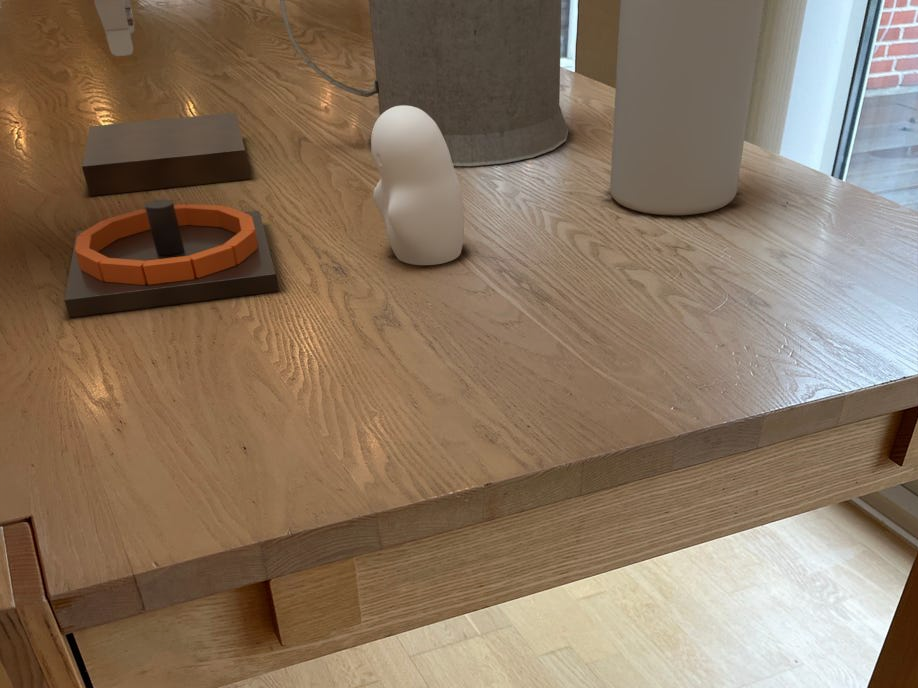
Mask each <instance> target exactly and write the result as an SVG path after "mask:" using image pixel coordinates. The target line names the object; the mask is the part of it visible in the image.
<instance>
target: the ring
mask: <svg viewBox="0 0 918 688" xmlns="http://www.w3.org/2000/svg"><path fill="white" fill-rule="evenodd" d="M174 207H175V212H176V216H177V220H178V225H179V226H186V225H193V226H208V227H222V228H224V229H227V230H229V231H232V232H234V233H236V235H235V236H234V237H232V238H231V239H230V240H228V241H227V242H226V243H225V244H223V245H220V246H217V247H214V248H211V249H208V250H205V251H201V252H198V253H195V254H192V255H189V256H181V257H173V258H164V259H156V260H148V261H142V260H129V259H117V258H108V257H106V256H104V255H102V254H100V253H98V251H100V250H102V249H103V248H105V247H106V246H108V245H109V244H111V243H112V242H114V241H115V240H117V239H120V238H124V237H127V236H130V235H134V234H137V233H140V232H144V231H147V230H151V229H150V225H149V221H148V217H147V213H146V209H145V208H144V209H143V208H141V209H136V210H132V211H129V212H125V213H122V214H118V215H115V216H112V217H108V218H105V219H103V220H100V221H99V222H97V223H95V224H93V225H92V226H91V227H88V228H87V229H84V230H85V231H84V232H82V233H80V234H79V236H77V241H76V246H75V253H76V257H77V260H78V263H79V266H80V269H81V270H82V271H84V272H86V273H88V274H90V275H91V276H93V277H95V278H97V279H99V280H101V281H105V282H114V283H125V284H137V285H146V284H147V283H148V285H152V284H161V283H169V282H177V281H185V280H193V279H195V277H196V278H201V277H204V276H207V275H210V274H213V273H216V272H219V271H222V270H225V269H228V268H231V267H234V266H236V264H237V265H238V264H240V263H241V262H242V261H243V260H245V259H246V258H247V257H248V256H250V255H251V254H252V253H253V252H254V251H256V250H257V248H258V243H257V237H256V232H255V227H254V223H253V218H252V216H251V215H249V214H246V213H244V212H245V211H241V210H238V209H235V208H234V207H230V206H226V205H215V204H199V203H188V204H187V203H181V204H174Z"/></svg>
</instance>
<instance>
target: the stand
mask: <svg viewBox="0 0 918 688" xmlns="http://www.w3.org/2000/svg"><path fill="white" fill-rule="evenodd" d="M81 169H82V172H83V176H84V178H85V180H84V181H85V183H86V186H87V190H88V194H89V196H90V197H96V196H104V195H115V194H124V193H133V192H141V191H142V192H143V191H151V190H162V189H171V188H181V187H188V186H189V187H191V186H198V185H208V184H217V183H227V182H236V181H238V182H239V181H245V180H251V175H250V169H249V164H248V158H247V152H246V147H245V144H244V140H243V137H242V132H241V128H240V124H239V121H238V116H237V113H236V112H228V113H216V114H206V115H194V116H183V117H174V118H163V119H153V120H142V121H141V120H140V121H131V122H121V123H110V124H109V123H108V124H100V125H98V124H97V125H90V126H89V129H88V133H87V139H86V144H85V147H84V153H83V159H82V163H81Z"/></svg>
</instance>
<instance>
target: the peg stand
mask: <svg viewBox="0 0 918 688" xmlns="http://www.w3.org/2000/svg"><path fill="white" fill-rule="evenodd" d="M174 205H175V203H174V201H172V200H171V199H165V198H164V199H155V200H150V201H148V202H146V203H145V205H144V210H145V209H146V213H147V217H148V221H149V225H150V229H151V230H147V231H144V232H140V233H137V234H134V235H130V236H127V237H124V238H120V239H117V240H115V241H114V242H112V243H111V244H109V245H108V246H106V247H105V248H103V249H102V250H100V251H98V253H100V254H102V255H104V256H106V257H108V258H117V259H129V260H142V261H148V260H156V259H164V258H173V257H181V256H189V255H192V254H195V253H198V252H201V251H205V250H208V249H211V248H214V247H217V246H220V245H223V244H225V243H226V242H227V241H228V240H230V239H231V238H232V237H234V236H235V235H236V233H234V232H232V231H229V230H227V229H224V228H222V227H208V226H193V225H186V226H179V225H178V220H177V216H176V212H175V207H174ZM243 212H244V213H246V214H249V215H251V216H252V218H253V223H254V227H255V232H256V237H257V243H258V248H257V250H256V251H254V252H253V253H252V254H251V255H250V256H248V257H247V258H246V259H245V260H243V261H242V262H241V263H240V264H238V265H237V264H236V266H234V267H231V268H228V269H225V270H222V271H219V272H216V273H213V274H210V275H207V276H204V277H201V278H196V277H195V279H193V280H185V281H177V282H169V283H161V284H152V285H148V283H147V284H146V285H137V284H125V283H114V282H105V281H101V280H99V279H97V278H95V277H93V276H91V275H90V274H88V273H86V272H84V271H82V270H81V269H80V266H79V263H78V260H77V257H76V253H75V246H76V241H77V236H79V234H80V233H82V232H84V231H85V230H86V229H84V230H77V231H76V235H75V240H74V246H73V250H72V255H71V262H70V266H69V273H68V277H67V282H66V283H67V284H66V288H65V293H64V299H63V301H64V304H65V307H66V310H67V313H68V316H69V318H78V317H79V318H80V317H87V316H94V315H103V314H109V313H111V314H112V313H118V312H125V311H133V310H134V311H135V310H140V309H141V310H142V309H149V308H156V307H164V306H165V307H166V306H172V305H181V304H188V303H198V302H205V301H211V300H212V301H213V300H220V299H221V300H222V299H228V298H235V297H243V296H251V295H259V294H268V293H276V292H279V285H278V280H277V274H276V270H275V266H274V262H273V259H272V254H271V250H270V246H269V243H268V239H267V234H266V231H265V227H264V223H263V219H262V215H261V211H260V210H252V211H243Z"/></svg>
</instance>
